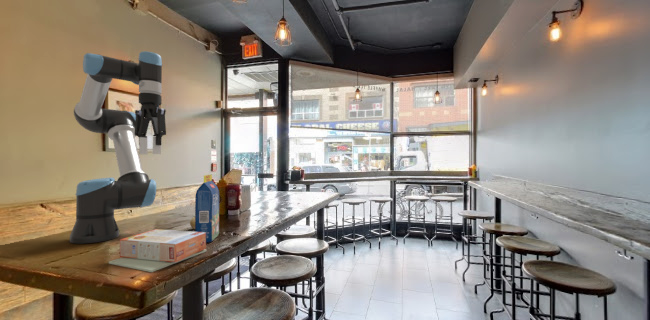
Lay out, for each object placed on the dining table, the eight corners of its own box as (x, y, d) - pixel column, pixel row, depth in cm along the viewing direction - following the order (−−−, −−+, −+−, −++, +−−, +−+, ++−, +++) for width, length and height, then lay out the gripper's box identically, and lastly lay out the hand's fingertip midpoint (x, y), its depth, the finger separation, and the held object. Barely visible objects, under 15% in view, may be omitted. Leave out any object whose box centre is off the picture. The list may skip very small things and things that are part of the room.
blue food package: (219, 234, 121) (219, 174, 121) (212, 242, 109) (212, 175, 109) (203, 234, 120) (203, 174, 120) (194, 242, 108) (195, 175, 108)
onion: (198, 232, 125) (198, 215, 125) (186, 230, 129) (186, 214, 129) (213, 228, 132) (213, 212, 132) (200, 226, 136) (201, 211, 136)
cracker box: (119, 258, 90) (175, 263, 84) (118, 238, 90) (175, 242, 84) (156, 245, 103) (207, 249, 98) (156, 228, 103) (206, 231, 98)
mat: (108, 263, 86) (108, 261, 86) (167, 245, 105) (167, 243, 105) (151, 272, 80) (151, 270, 80) (206, 251, 98) (206, 249, 98)
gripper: (123, 94, 112) (122, 154, 111) (159, 89, 104) (159, 153, 104) (141, 98, 118) (141, 154, 118) (177, 94, 111) (177, 154, 111)
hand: (149, 154), depth 111 cm, fingers open, 7 cm apart
